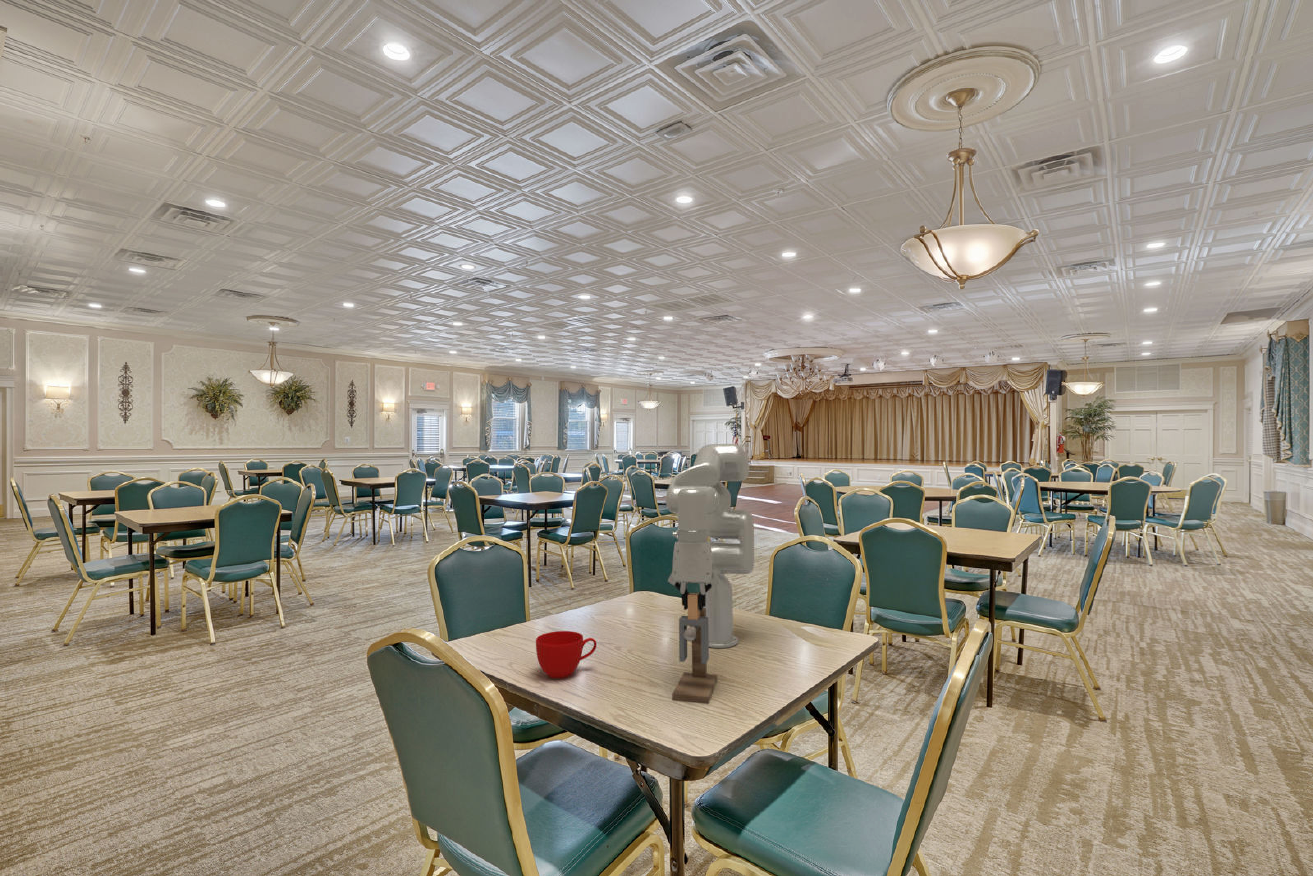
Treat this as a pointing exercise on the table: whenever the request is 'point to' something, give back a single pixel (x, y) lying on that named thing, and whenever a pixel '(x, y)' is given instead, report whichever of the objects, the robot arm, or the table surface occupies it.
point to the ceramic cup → (561, 652)
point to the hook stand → (695, 672)
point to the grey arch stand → (693, 620)
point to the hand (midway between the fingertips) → (693, 608)
